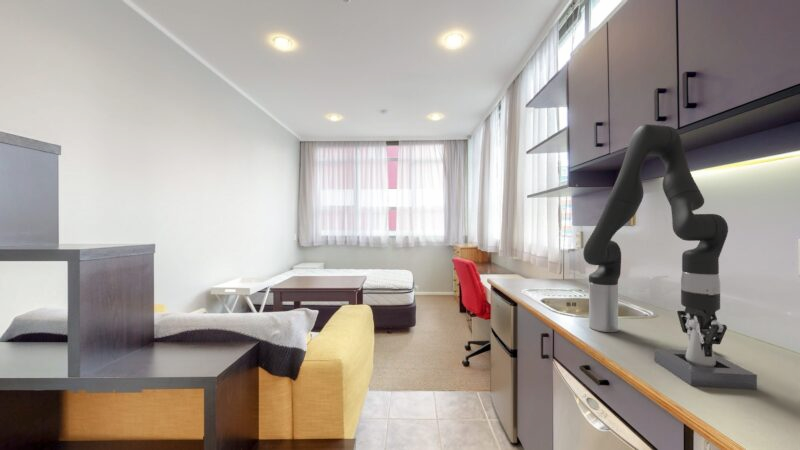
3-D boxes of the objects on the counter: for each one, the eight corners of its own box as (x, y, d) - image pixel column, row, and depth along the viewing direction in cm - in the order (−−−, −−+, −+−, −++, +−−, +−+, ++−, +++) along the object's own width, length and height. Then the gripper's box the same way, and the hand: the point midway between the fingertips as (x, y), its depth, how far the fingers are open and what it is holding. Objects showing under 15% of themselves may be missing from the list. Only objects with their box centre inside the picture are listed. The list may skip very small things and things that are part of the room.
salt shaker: (712, 375, 80) (712, 324, 79) (683, 367, 84) (682, 318, 84) (718, 369, 83) (717, 319, 83) (689, 361, 88) (688, 314, 87)
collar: (654, 360, 92) (654, 348, 91) (709, 363, 89) (709, 351, 89) (690, 385, 78) (690, 371, 78) (756, 389, 76) (756, 374, 76)
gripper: (665, 284, 91) (666, 344, 91) (705, 295, 77) (705, 366, 77) (695, 284, 90) (695, 345, 90) (740, 296, 76) (740, 367, 76)
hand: (700, 354), depth 84 cm, fingers closed on salt shaker, 3 cm apart
